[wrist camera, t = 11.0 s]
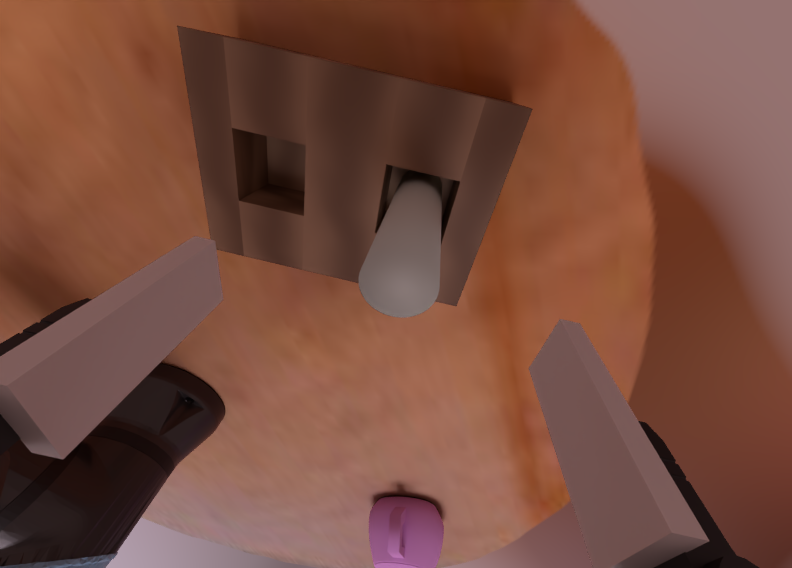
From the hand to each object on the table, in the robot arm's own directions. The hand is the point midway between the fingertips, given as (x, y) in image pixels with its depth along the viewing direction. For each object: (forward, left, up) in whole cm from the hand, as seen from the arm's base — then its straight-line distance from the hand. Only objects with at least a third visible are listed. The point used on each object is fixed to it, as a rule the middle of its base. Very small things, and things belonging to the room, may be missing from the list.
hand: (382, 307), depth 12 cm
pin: (0, 0, -15) cm, 15 cm away
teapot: (+12, -60, -17) cm, 63 cm away
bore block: (-5, 0, -17) cm, 17 cm away
